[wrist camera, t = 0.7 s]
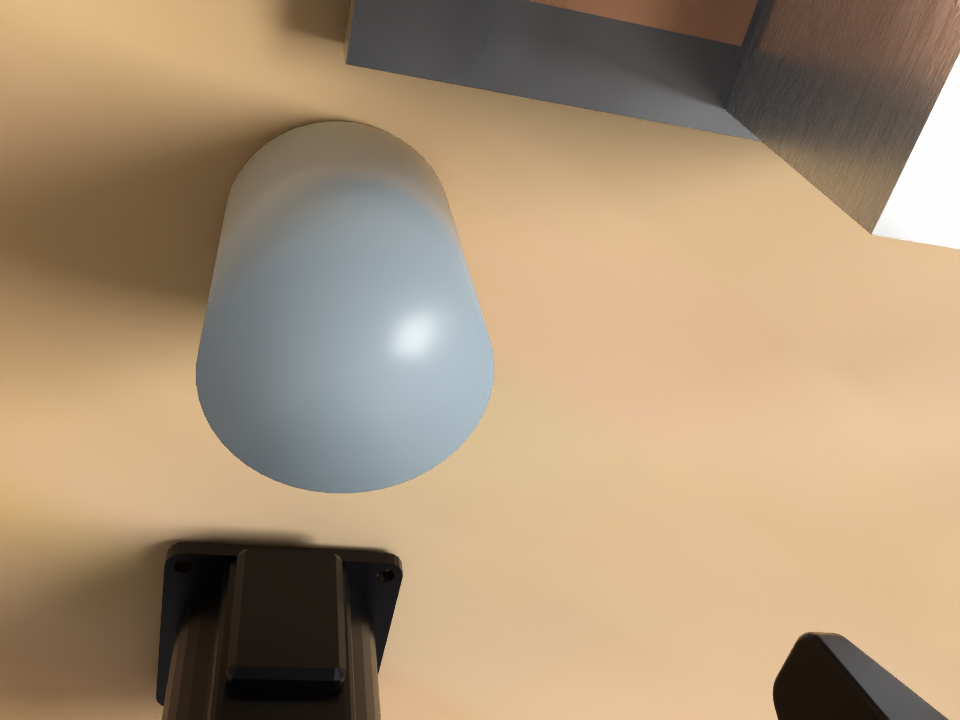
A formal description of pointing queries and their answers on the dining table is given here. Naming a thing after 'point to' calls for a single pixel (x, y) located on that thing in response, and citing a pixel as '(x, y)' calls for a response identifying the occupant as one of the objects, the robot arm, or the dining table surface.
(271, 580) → the robot arm
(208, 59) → the dining table surface
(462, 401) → the grey round-ended capsule
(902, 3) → the motor mount
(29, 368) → the dining table surface
